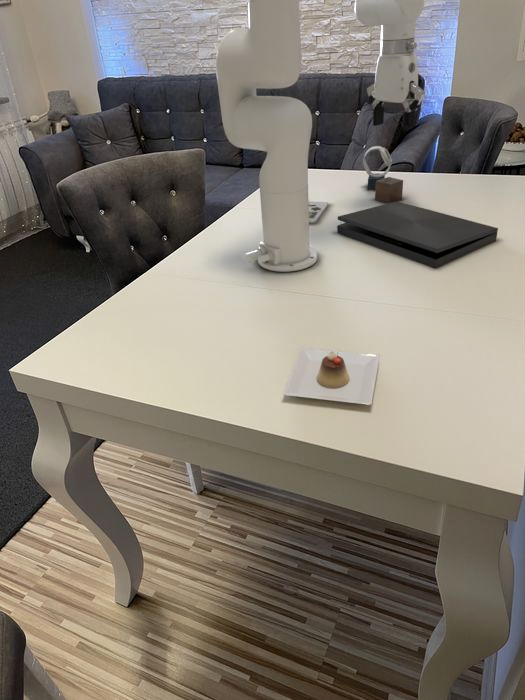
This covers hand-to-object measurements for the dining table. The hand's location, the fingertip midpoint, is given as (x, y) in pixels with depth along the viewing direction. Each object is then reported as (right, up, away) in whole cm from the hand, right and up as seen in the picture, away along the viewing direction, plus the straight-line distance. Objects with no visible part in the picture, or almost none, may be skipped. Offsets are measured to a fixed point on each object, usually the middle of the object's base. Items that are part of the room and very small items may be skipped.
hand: (392, 126), depth 132 cm
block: (+1, -15, +10) cm, 18 cm away
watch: (0, -9, +20) cm, 22 cm away
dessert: (-22, -60, -56) cm, 85 cm away
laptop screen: (+1, -28, -14) cm, 31 cm away
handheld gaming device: (-21, -20, +5) cm, 30 cm away
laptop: (+1, -30, -13) cm, 33 cm away
